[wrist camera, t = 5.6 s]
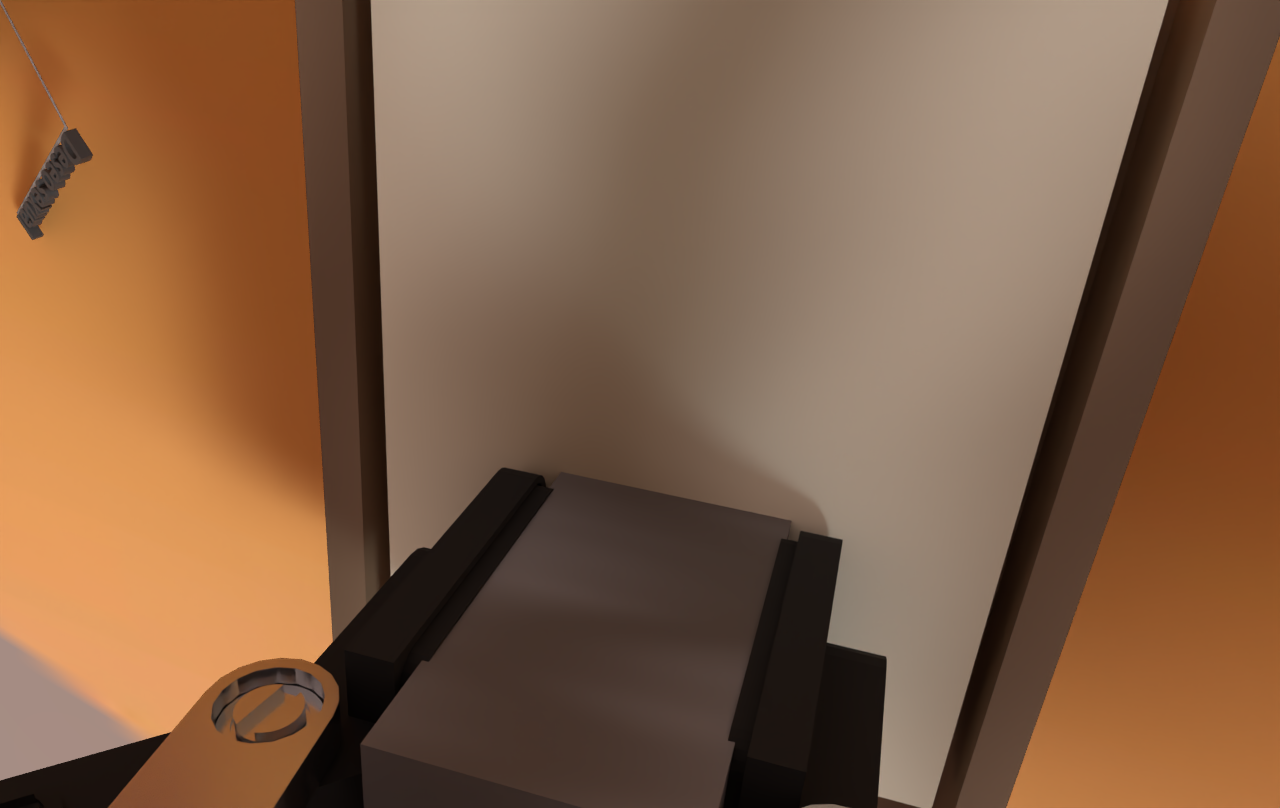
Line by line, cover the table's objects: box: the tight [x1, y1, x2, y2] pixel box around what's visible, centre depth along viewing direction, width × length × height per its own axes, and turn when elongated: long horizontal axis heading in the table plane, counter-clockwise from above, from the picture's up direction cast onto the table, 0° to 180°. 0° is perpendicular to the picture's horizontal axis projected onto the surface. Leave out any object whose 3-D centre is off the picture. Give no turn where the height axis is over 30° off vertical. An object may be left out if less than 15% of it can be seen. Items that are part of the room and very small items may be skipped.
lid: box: [360, 0, 1168, 808], centre depth 9 cm, size 8×14×6 cm, turn 175°
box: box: [295, 0, 1280, 808], centre depth 17 cm, size 10×16×8 cm, turn 175°
